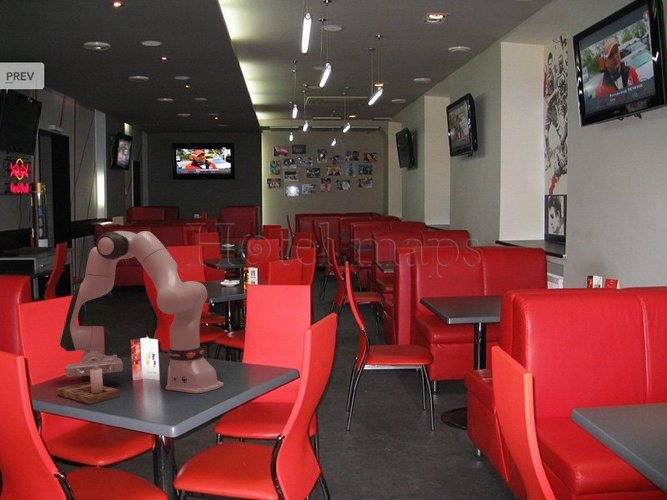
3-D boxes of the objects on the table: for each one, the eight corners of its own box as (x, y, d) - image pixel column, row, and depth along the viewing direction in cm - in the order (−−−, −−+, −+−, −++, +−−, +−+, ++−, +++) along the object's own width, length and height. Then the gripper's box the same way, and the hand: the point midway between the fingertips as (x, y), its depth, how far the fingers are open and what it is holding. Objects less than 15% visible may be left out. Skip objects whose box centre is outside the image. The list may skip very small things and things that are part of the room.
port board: (119, 396, 240) (119, 388, 240) (89, 404, 230) (89, 396, 230) (87, 388, 253) (86, 380, 253) (57, 395, 243) (56, 387, 243)
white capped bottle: (102, 395, 240) (101, 363, 240) (103, 398, 237) (102, 366, 236) (91, 396, 239) (89, 364, 238) (91, 399, 235) (90, 367, 235)
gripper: (64, 359, 253) (64, 367, 240) (120, 353, 261) (123, 361, 248) (65, 375, 254) (65, 384, 241) (121, 369, 261) (124, 377, 249)
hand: (95, 372), depth 245 cm, fingers open, 8 cm apart
